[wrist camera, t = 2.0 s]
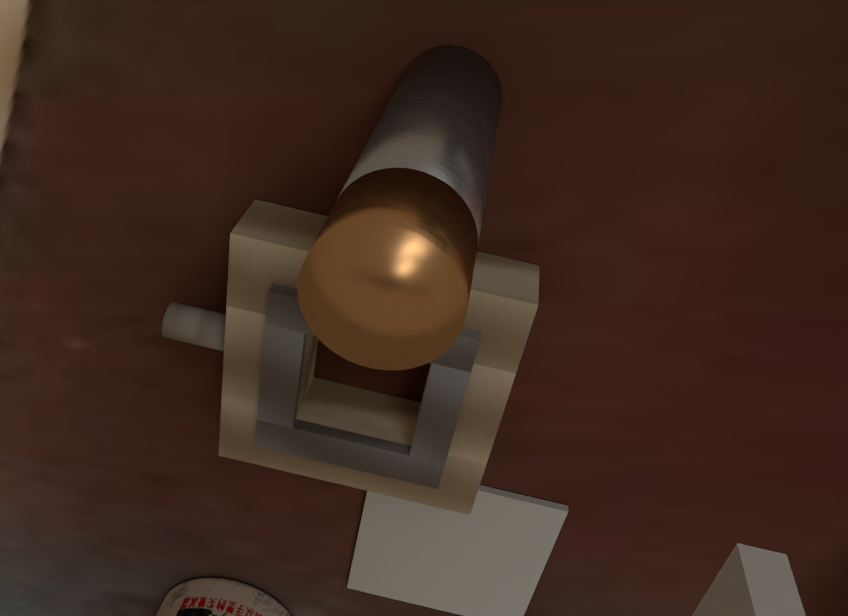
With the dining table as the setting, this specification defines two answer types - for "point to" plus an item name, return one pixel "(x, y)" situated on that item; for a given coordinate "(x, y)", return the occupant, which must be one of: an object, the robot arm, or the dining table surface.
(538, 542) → the mat
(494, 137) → the copper capped silver cylinder
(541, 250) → the dining table surface
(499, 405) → the chuck block
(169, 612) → the teacup with lid
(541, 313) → the dining table surface
